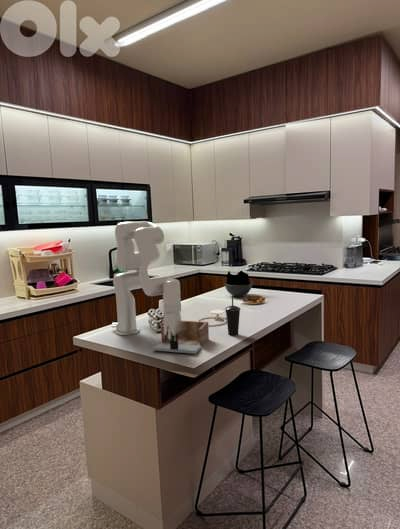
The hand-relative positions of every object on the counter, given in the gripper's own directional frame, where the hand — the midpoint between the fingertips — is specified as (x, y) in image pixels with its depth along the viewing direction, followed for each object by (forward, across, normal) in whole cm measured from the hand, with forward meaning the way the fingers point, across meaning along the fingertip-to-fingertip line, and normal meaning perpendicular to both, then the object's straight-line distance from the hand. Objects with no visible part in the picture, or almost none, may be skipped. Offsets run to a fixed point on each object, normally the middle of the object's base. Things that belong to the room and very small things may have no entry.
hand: (174, 348), depth 162 cm
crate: (+2, -15, 0) cm, 15 cm away
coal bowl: (+2, -117, +5) cm, 117 cm away
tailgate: (+2, -8, 0) cm, 9 cm away
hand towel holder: (+3, -52, +3) cm, 52 cm away
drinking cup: (+3, -31, +20) cm, 37 cm away
